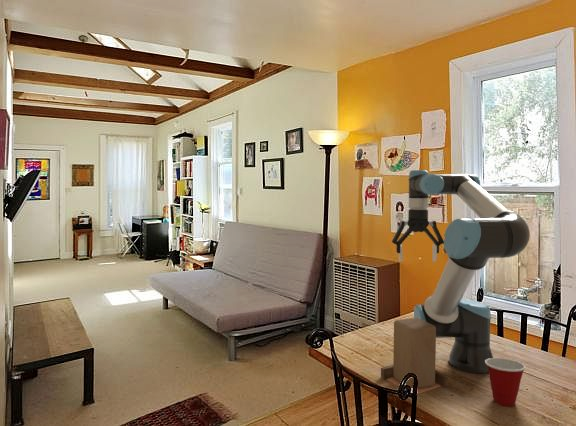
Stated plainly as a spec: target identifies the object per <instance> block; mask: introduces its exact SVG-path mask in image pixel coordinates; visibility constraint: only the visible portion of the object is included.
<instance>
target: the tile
mask: <svg viewBox="0 0 576 426" xmlns="http://www.w3.org/2000/svg"><path fill="white" fill-rule="evenodd" d="M386 381H389V382H390V383H392V384H394V385H395V386H397V387H399V384H400V382H399V381H397V380H396V379H395V378H394V377H391V378H388V379H386ZM440 387H442V386H441V385H439V384H437V383H435V385H433V386H429V387H424V388H419V389H418V394H417V395H419V394H421V393H422V394H423V393H425V392H429V391H432V390H435V389H437V388H440Z"/></svg>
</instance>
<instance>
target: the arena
mask: <svg viewBox="0 0 576 426" xmlns="http://www.w3.org/2000/svg"><path fill="white" fill-rule="evenodd" d="M392 377H394V376H393V364H390V365H385V366H383V367H380V378H381V379H382V380H387V379H388V378H392ZM448 380H449V375H447V374H445V373H443V372H440V371H439V370H437V369H435V383H437V384H439V385H441V387H442V388H447V387H448V386H449V385H448V383H449V381H448Z"/></svg>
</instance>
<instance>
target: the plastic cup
mask: <svg viewBox="0 0 576 426" xmlns="http://www.w3.org/2000/svg"><path fill="white" fill-rule="evenodd" d="M485 363H486V365H487V368H488V372H489V373H488V375H489V376H488V377H489V381H490V388H491V392H492V398H493V401H494V403H496V404H498V405H500V406H503V405H504V407H513V405H514V406H516V402H517V397H518V394H519V389H520V386H521V385H520V384H521V381H522V378H523V373H524V371H526V365H525V364H523V362H520V361H518V360H514V359H510V358H503V357H493V358H489V359H486V360H485Z"/></svg>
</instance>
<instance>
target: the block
mask: <svg viewBox="0 0 576 426" xmlns="http://www.w3.org/2000/svg"><path fill="white" fill-rule="evenodd" d="M436 344H437V338H436V327H435V326H434V325H432V324H430V323H428V322H426V321H424V320H421V319H419V318H414V317H411V318H404V319H396V320H394V322H393V364H392V365H393V376H394V378H395V379H396V380H397V381H399V382H401V380H402V379H403V377H404V376H405V375H406V374H408V373H414V374H416V375H417V377H418V389H419V388H424V387H429V386H433V385H435V370H436V356H437V355H436V352H437V351H436V350H437V347H436ZM406 385H409V386H410V387H411V388H413V378H410V379H409V380H408V381H407V382H406Z"/></svg>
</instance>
